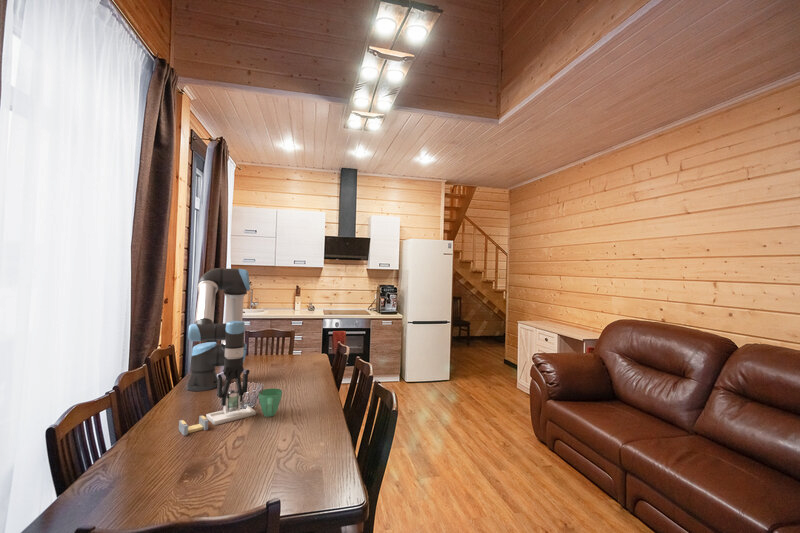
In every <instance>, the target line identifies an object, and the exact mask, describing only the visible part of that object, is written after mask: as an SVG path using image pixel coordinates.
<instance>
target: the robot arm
mask: <svg viewBox="0 0 800 533" xmlns="http://www.w3.org/2000/svg"><path fill="white" fill-rule="evenodd" d="M196 290H197V292H198V296H197V302H196V303H197V304H196V310H195V311H196V312H195V318H194V323H191V324H189V325H188V330H187V332H188V333H187V334H188V335H187V338H188V341H190V342H202V343H198V344H195V345H194V346H193V347H192V349H191V364H190V365H191V366H190V375H189V377H188V379H187V382H186V387H185V388H186V390H187V391H188V392H189V391H190V392H203V391H210V390H213V389H216V388H217V389H216V396H217V398H220V399H221V406H222V407H223V409H222V410H223V412H224V413H225V414H228V398H227V393H228V392H229V390H230V389H229V388H230V386H231V382H232V380H235V385H236V389H237V390H236V391H238V406H237V411H240V406H241V403H242V402H243V396H244V394H246V393H247V392H248V381H249V374H250V370H249V369H247V368H244V362H245V360H246V355H247V349H248V348H247V347H248V344H247V343H246V342H245V331H246V325H245V322H244V321H243V318H244V317H243V315H244V298H245V296H246V295H247V294H248V291H250V290H251V284H250V274H249V271H248V270H247V269H246V268H245V269H244V268H226V267H225V268H220V267H217V268H216V267H215V268H212V269H210V270H208V271H206V272H205V273H204V274H203V275H201V277H200V278H199V279H198V281H197V286H196ZM218 291H223V295H224V296H225V297H226V298H225V302H226V303H225V319H224V320H225V321H224V322H225V323H214V320H215V306H216V294H217V292H218ZM217 341H221V343H220V344H218V343H217ZM217 367H223V370H222V371H221V372H220V373H217V372H216V368H217ZM241 375H242V379H241ZM224 376H225V379H223V378H224ZM223 380H224V386H223ZM241 380H242V382H241Z"/></svg>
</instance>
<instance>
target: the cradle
mask: <svg viewBox="0 0 800 533" xmlns="http://www.w3.org/2000/svg"><path fill="white" fill-rule="evenodd" d="M198 417H199V418H198V423H197V424H193V425H188V424H187V422H186V421H185V420H184V419H181V420H178V431H179V432H180V433H181V434H182V436H184V437H186V436H188V434H191V433H194V432H199V431H202V430H204V431H208V430H209V420H208V419H207V418H206V416H204V415H199V416H198Z"/></svg>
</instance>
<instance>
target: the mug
mask: <svg viewBox="0 0 800 533" xmlns="http://www.w3.org/2000/svg"><path fill="white" fill-rule="evenodd" d="M282 396H283V390H282V389H280V388H272V387H271V388H265V389H262V390H261V391H258V400H259V404H260V407H261V408H260V409H261V411H262V413H263V417H266V418H267V417H268V418H269V417H270V418H271V417H274V416H276V414H277V411H278V410H279V406H280V404H281V400H282Z"/></svg>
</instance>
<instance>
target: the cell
mask: <svg viewBox="0 0 800 533" xmlns="http://www.w3.org/2000/svg"><path fill="white" fill-rule="evenodd" d="M227 398H228V412H232V411H236V410H237V406H238V390H233V389H232V390H230V391H229V390H228V393H227Z"/></svg>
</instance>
